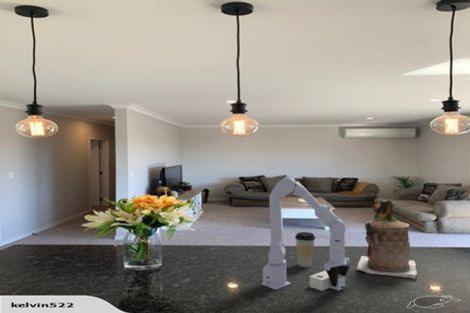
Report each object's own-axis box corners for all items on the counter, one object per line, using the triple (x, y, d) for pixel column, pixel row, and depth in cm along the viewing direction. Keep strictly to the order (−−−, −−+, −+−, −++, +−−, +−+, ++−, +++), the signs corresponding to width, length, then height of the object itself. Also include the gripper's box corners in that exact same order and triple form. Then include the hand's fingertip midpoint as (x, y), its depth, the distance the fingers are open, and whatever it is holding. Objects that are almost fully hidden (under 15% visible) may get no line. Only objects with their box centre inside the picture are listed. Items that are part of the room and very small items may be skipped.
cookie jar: (415, 264, 174) (415, 197, 174) (417, 280, 152) (417, 204, 151) (361, 258, 184) (360, 194, 184) (355, 273, 162) (355, 201, 162)
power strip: (309, 286, 146) (309, 274, 146) (335, 276, 158) (335, 265, 158) (322, 290, 142) (322, 278, 141) (348, 280, 153) (348, 268, 153)
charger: (324, 286, 146) (324, 274, 146) (331, 283, 149) (331, 272, 149) (345, 292, 139) (345, 280, 139) (351, 289, 141) (351, 278, 141)
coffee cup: (292, 266, 172) (292, 234, 171) (298, 261, 180) (298, 231, 180) (312, 269, 167) (312, 236, 167) (317, 264, 175) (317, 232, 175)
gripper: (335, 255, 136) (335, 292, 136) (356, 248, 145) (356, 282, 146) (319, 251, 141) (319, 286, 141) (341, 245, 151) (341, 278, 151)
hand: (337, 284), depth 144 cm, fingers closed on charger, 4 cm apart
